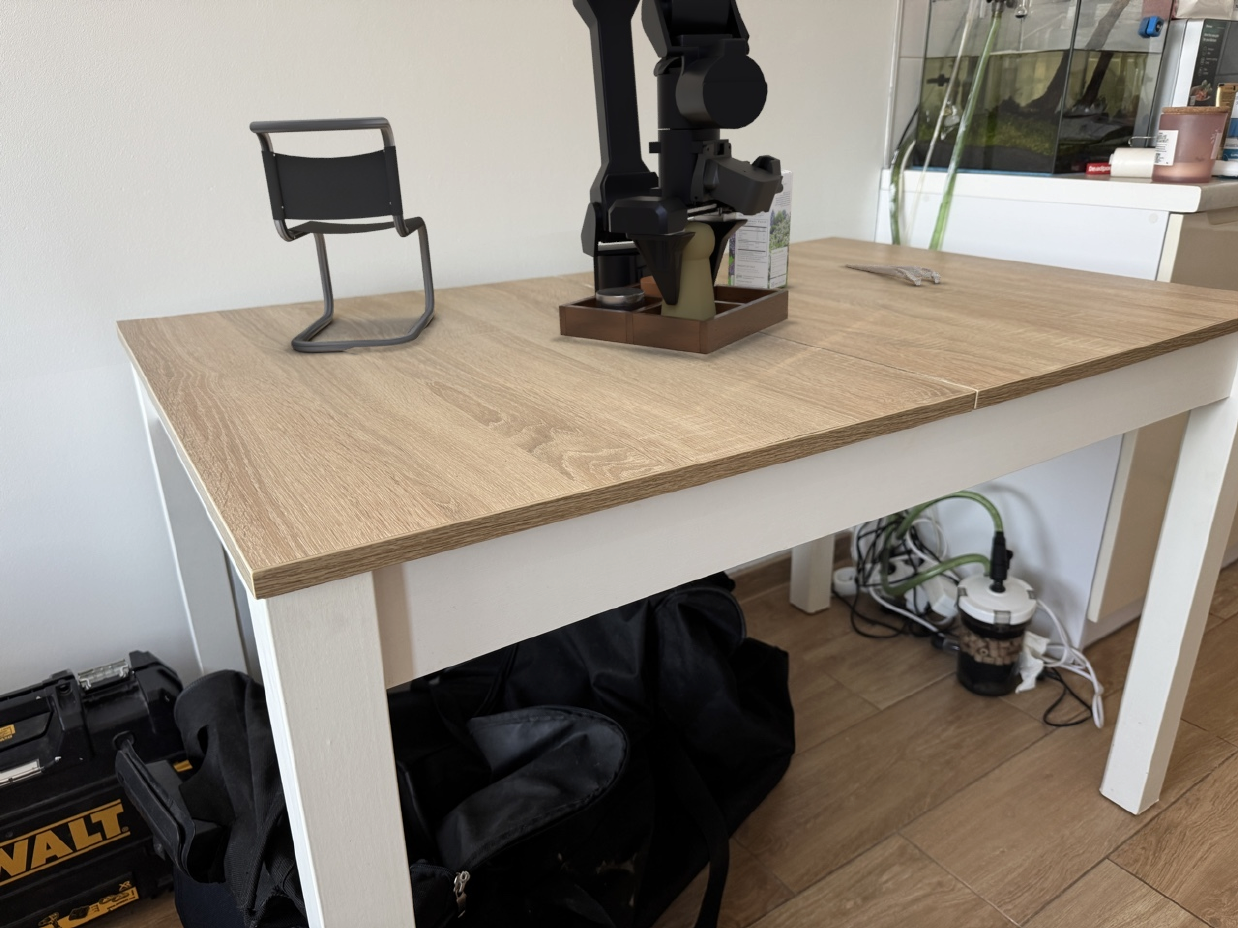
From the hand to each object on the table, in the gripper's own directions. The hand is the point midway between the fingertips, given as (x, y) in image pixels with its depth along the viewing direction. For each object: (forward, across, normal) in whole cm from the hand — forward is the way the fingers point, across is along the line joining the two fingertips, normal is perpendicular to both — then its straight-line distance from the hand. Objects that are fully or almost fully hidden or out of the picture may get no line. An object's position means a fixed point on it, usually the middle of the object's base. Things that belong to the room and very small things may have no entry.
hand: (689, 298), depth 89 cm
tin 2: (+4, +8, +8) cm, 12 cm away
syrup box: (+5, +29, +7) cm, 30 cm away
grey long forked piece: (+5, +45, -4) cm, 45 cm away
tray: (+4, +4, +4) cm, 7 cm away
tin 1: (+4, 0, +8) cm, 9 cm away
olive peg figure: (+4, 0, 0) cm, 4 cm away
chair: (+5, -12, +34) cm, 36 cm away
